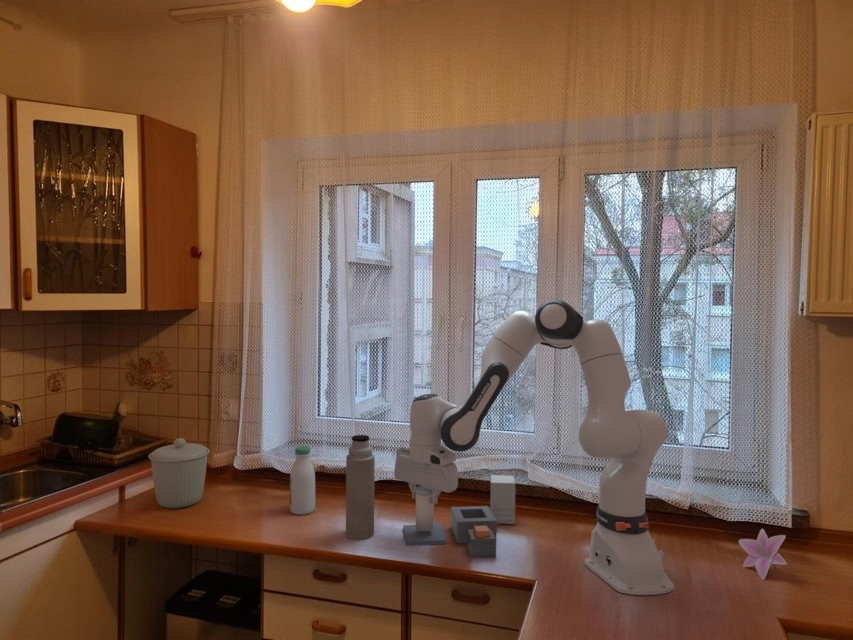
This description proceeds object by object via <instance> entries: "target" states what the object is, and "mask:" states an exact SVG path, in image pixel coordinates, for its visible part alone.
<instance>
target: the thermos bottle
mask: <svg viewBox="0 0 853 640" xmlns="http://www.w3.org/2000/svg"><path fill="white" fill-rule="evenodd" d="M351 440H352V441H351V446H350V447H348V454H347V455H346V458H345V459H346V461H345V462H346V464H345V465H346V466H345V469H346V470H345V486H346V488H345V536H346V537H347V538H349V539H350V540H356V541H357V540H359V541H361V540H362V541H363V540H368V539H370V538H372V537H373V536H374V535H375V469H376V468H375V467H376V466H375V464H376V463H375V460H376V459H375V457H376V456H375V454H373V452H374V451H373V447H372V446H371V445H370V436H369V435H366V434H356V435H353V436H351Z"/></svg>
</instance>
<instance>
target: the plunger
mask: <svg viewBox="0 0 853 640" xmlns="http://www.w3.org/2000/svg"><path fill="white" fill-rule="evenodd" d="M474 535H475V537H489V529H488V527H487V526H474Z"/></svg>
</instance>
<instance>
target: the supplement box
mask: <svg viewBox="0 0 853 640" xmlns="http://www.w3.org/2000/svg"><path fill="white" fill-rule="evenodd" d="M489 508H490V510H491V512H492V513H493V515H494V517H495V518H496V520H497V524H499V525H501V524H502V525H503V524H504V525H516V481H515V478H514V475H500V474H499V475H498V474H495V475H494V474H490V506H489Z"/></svg>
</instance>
